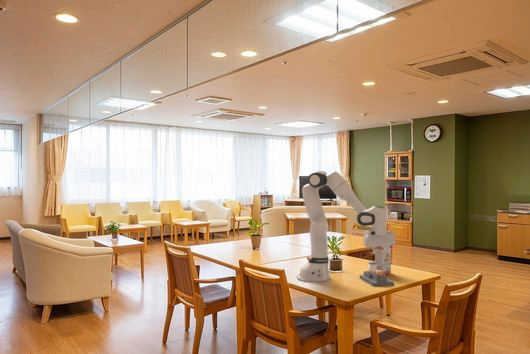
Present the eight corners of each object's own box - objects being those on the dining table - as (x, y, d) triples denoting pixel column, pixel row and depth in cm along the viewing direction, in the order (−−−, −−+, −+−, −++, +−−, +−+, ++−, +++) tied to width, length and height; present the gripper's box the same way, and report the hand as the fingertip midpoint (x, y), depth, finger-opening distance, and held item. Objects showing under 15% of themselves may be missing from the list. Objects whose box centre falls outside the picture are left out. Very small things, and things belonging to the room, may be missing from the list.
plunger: (377, 277, 244) (377, 271, 244) (374, 275, 249) (374, 270, 249) (384, 277, 245) (384, 271, 245) (381, 275, 249) (381, 269, 249)
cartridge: (370, 277, 254) (370, 263, 254) (367, 275, 259) (367, 261, 259) (378, 277, 255) (378, 262, 255) (374, 275, 260) (374, 261, 260)
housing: (372, 286, 241) (372, 277, 241) (359, 278, 260) (359, 269, 260) (393, 285, 243) (393, 276, 243) (379, 277, 263) (379, 268, 263)
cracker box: (383, 277, 262) (383, 246, 262) (374, 275, 266) (374, 245, 266) (391, 273, 273) (391, 243, 273) (383, 271, 277) (383, 242, 277)
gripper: (392, 230, 252) (392, 251, 252) (362, 231, 248) (362, 252, 248) (397, 231, 246) (397, 253, 246) (366, 232, 242) (366, 254, 242)
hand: (379, 253), depth 247 cm, fingers open, 5 cm apart
